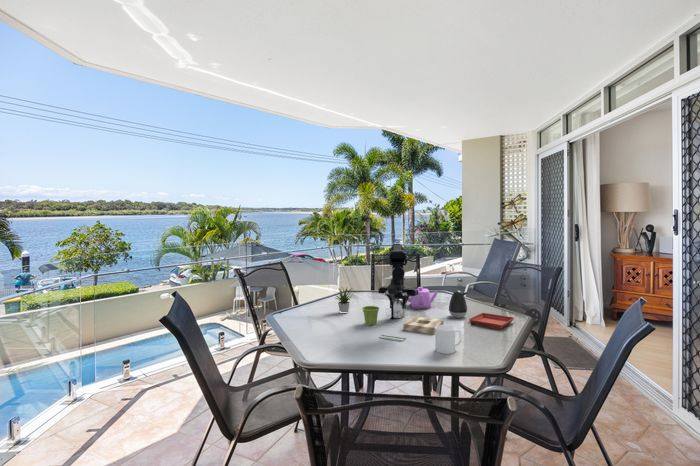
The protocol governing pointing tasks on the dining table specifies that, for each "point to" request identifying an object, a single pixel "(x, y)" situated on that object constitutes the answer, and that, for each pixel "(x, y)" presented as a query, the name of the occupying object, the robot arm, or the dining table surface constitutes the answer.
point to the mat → (392, 338)
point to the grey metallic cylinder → (398, 308)
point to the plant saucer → (491, 320)
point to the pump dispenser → (458, 304)
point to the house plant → (344, 300)
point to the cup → (446, 339)
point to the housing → (422, 324)
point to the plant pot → (370, 314)
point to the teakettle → (422, 299)
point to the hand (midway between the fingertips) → (398, 308)
